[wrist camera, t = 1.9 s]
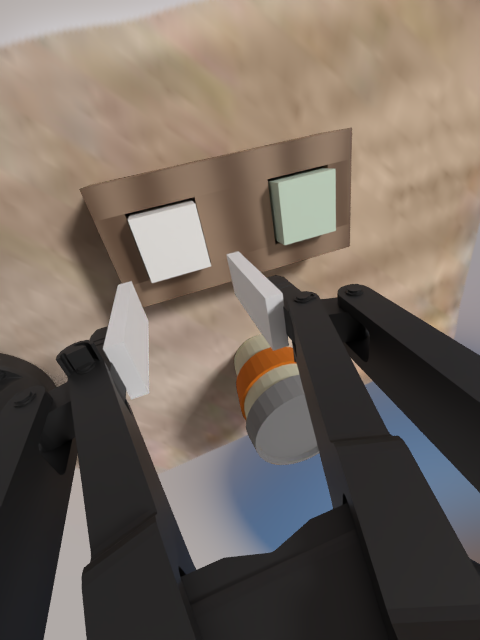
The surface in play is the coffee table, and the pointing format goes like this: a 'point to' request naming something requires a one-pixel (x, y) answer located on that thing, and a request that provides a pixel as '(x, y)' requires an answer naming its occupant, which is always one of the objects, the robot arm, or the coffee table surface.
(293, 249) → the key panel
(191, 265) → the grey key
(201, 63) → the coffee table surface
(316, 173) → the sage key
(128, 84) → the coffee table surface
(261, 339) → the reusable coffee cup
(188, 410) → the coffee table surface
